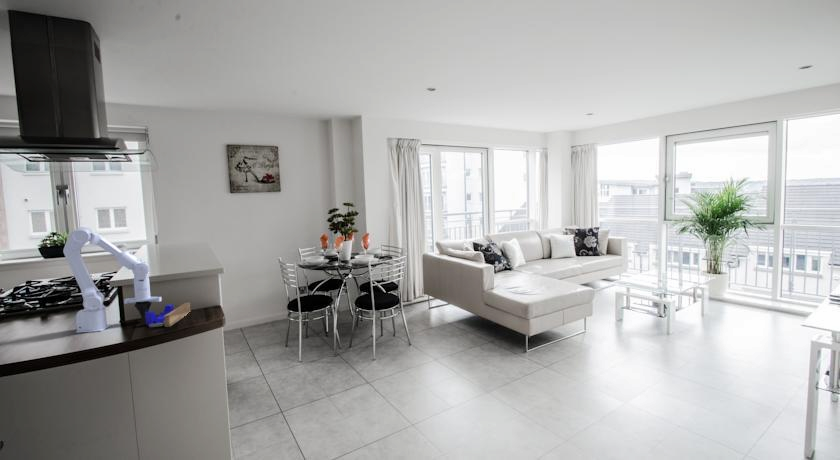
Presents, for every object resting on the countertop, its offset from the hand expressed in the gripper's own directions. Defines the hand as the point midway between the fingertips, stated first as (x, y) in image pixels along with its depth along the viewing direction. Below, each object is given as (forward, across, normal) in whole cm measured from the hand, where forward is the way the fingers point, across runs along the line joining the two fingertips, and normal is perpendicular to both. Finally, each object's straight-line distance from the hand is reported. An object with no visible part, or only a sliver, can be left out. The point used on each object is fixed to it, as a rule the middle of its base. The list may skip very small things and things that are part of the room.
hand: (144, 317), depth 174 cm
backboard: (+2, -14, 0) cm, 14 cm away
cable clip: (+2, -6, +1) cm, 7 cm away
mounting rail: (+2, -9, 0) cm, 9 cm away
